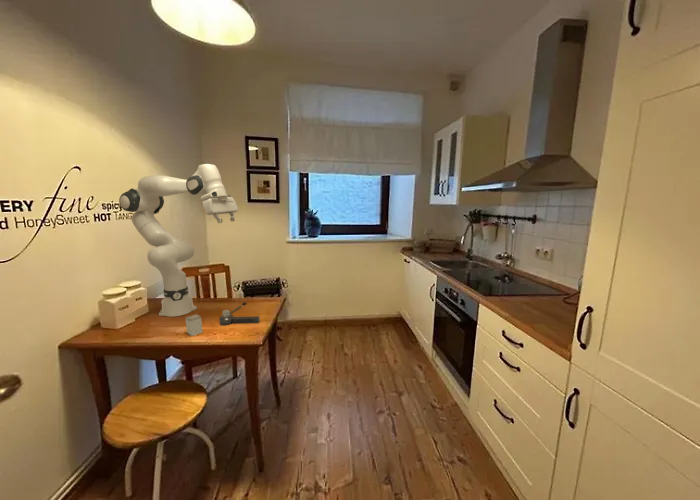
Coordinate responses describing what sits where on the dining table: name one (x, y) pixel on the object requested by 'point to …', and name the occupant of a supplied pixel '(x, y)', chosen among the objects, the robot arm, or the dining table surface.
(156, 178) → the robot arm
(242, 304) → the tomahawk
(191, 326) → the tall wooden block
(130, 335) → the dining table surface
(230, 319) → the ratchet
